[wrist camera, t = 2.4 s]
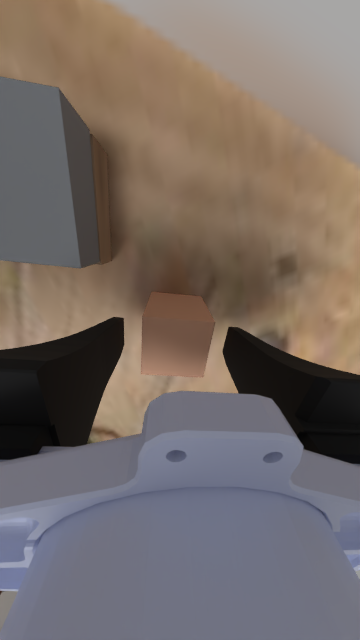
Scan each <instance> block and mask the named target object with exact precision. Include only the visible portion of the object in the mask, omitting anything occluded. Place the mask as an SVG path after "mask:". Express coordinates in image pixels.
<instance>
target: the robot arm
mask: <svg viewBox="0 0 360 640" xmlns="http://www.w3.org/2000/svg"><path fill="white" fill-rule="evenodd" d="M123 347H124V318H119V317H113V318H110V319H108V320H106V321H104V322H102V323H99V324H97V325H95V326H93V327H91V328H88V329H86V330H84V331H81V332H79V333H76V334H73V335H70V336H67V337H64V338H61V339H57V340H53V341H49V342H45V343H41V344H36V345H31V346H25V347H19V348H12V349H5V350H0V591H18V592H17V595H16V597H15V599H14V602H13V604H12V606H11V608H10V611H9V613H8V615H7V618H6V620H5V622H4V624H3V627H2V629H1V631H0V640H360V579H359V578H358V576H357V574H356V572H355V571H357V570H360V375H357V374H352V373H348V372H344V371H340V370H336V369H332V368H329V367H325V366H322V365H318V364H315V363H312V362H309V361H306V360H304V359H301V358H298V357H295V356H293V355H291V354H288V353H286V352H284V351H281V350H279V349H277V348H275V347H273V346H271V345H269V344H267V343H265V342H264V341H262V340H260V339H258V338H257V337H255V336H253V335H251V334H250V333H248V332H246V331H244V330H242V329H240V328H238V327H229V328H228V332H227V336H226V340H225V343H224V347H223V355H224V359H225V363H226V365H227V367H228V370H229V372H230V374H231V377H232V379H233V381H234V383H235V386H236V388H237V390H238V393H239V394H236V393H215V392H195V391H177V392H170V393H164V394H162V395H161V396H159V397H158V398H156V399H155V400H153V401H151V402H150V403H149V406H148V408H147V410H146V412H145V415H144V422H143V428H142V433H141V434H136V435H131V436H126V437H121V438H116V439H111V440H106V441H101V442H96V443H91V444H87V441H88V438H89V435H90V431H91V428H92V425H93V422H94V419H95V416H96V413H97V410H98V407H99V404H100V401H101V398H102V395H103V393H104V390H105V388H106V385H107V383H108V381H109V379H110V377H111V375H112V373H113V371H114V369H115V367H116V365H117V362H118V360H119V358H120V356H121V353H122V350H123Z"/></svg>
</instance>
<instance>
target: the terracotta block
mask: <svg viewBox="0 0 360 640" xmlns="http://www.w3.org/2000/svg"><path fill="white" fill-rule="evenodd" d="M214 325H215V321H214V319H213V317H212V316H211V314H210V312H209V310H208V308H207V306H206V305H205V303H204V301H203V299H202V297H201V296H193V295H183V294H172V293H161V292H151V295H150V297H149V300H148V303H147V306H146V308H145V311H144V314H143V316H142V357H141V374H145V375H164V376H184V377H203V376H204V372H205V367H206V362H207V358H208V353H209V348H210V344H211V339H212V334H213V330H214Z"/></svg>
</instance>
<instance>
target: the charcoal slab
mask: <svg viewBox="0 0 360 640" xmlns="http://www.w3.org/2000/svg"><path fill="white" fill-rule="evenodd" d="M0 260H3V261H13V262H23V263H33V264H43V265H53V266H62V267H72V268H84V267H87V266H90V265H93V264H96V263H99V262H100V259H99V246H98V233H97V220H96V208H95V195H94V182H93V169H92V156H91V144H90V131H89V128H88V127H87V126H86V124H85V123H84V122H83V120H82V119H81V118H80V116H79V115H78V113H77V112H76V111H75V109H74V108H73V107H72V105H71V104H70V103H69V101H68V100H67V99H66V97H65V96H64V94H63V93H62V92H61V90H60V89H59V88H57V87H52V86H47V85H41V84H36V83H31V82H26V81H21V80H15V79H10V78H5V77H0Z"/></svg>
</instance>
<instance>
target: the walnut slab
mask: <svg viewBox="0 0 360 640" xmlns="http://www.w3.org/2000/svg"><path fill="white" fill-rule="evenodd" d="M90 144H91V156H92V169H93V182H94V195H95V208H96V220H97V233H98V246H99V259H100V262H99V263H96V264H100V265H101V264H104V263H107V262H110V261H112V256H111V232H110V207H109V183H108V158H107V153H106V152H105V151H104V149H103V148H102V147H101V145H100V144H99V143H98V141H97V140H96V139H95V137H94V136H93V135H92V134H90Z"/></svg>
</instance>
